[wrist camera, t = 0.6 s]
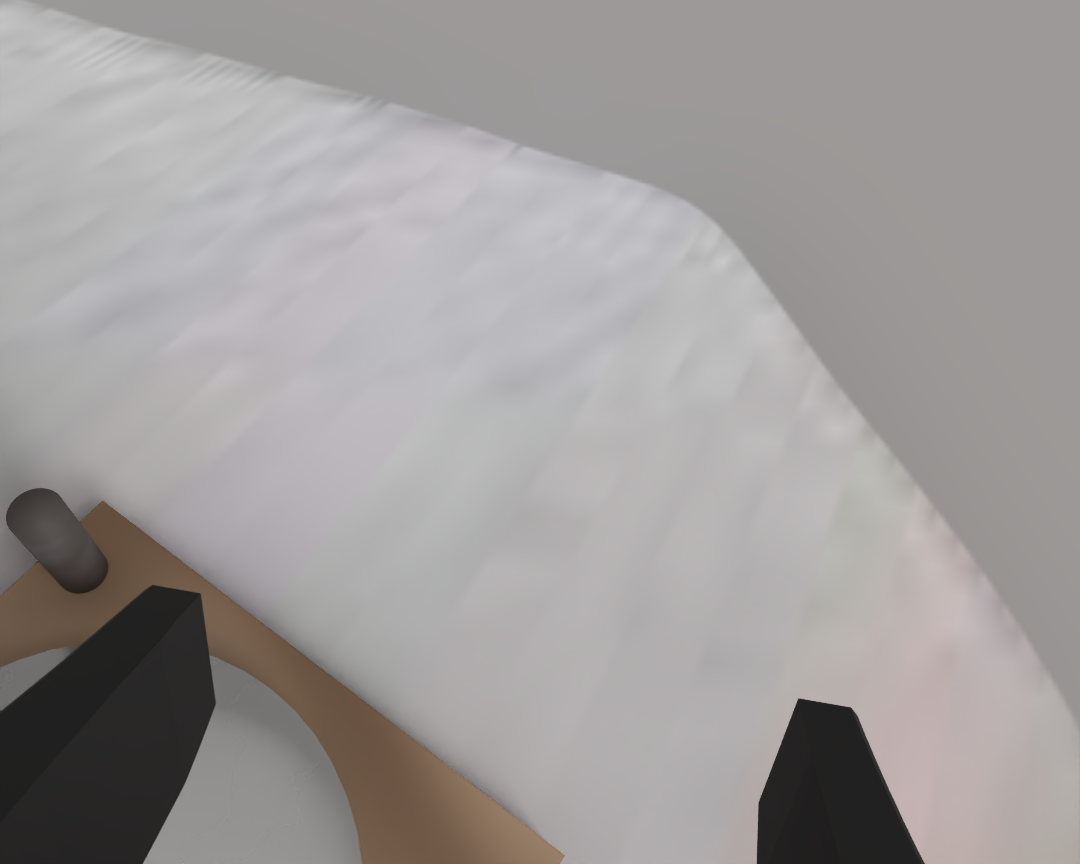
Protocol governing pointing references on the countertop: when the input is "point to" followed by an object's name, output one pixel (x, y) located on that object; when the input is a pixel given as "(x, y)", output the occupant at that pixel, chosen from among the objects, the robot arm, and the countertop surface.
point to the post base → (243, 641)
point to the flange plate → (242, 780)
